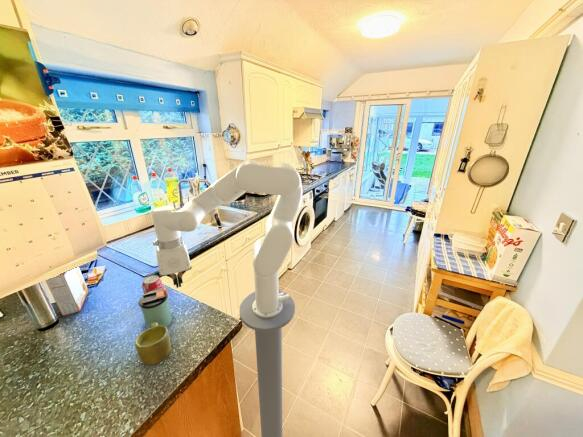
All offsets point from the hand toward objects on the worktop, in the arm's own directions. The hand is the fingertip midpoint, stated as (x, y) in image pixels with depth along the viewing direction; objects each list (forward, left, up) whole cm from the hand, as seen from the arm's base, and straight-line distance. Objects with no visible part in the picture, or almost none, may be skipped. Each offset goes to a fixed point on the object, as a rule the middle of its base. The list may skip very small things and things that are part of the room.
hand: (178, 285), depth 88 cm
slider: (+6, 0, -2) cm, 6 cm away
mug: (+10, +13, -15) cm, 22 cm away
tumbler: (+9, 0, -14) cm, 17 cm away
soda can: (+10, -13, -15) cm, 22 cm away
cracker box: (+40, -28, -15) cm, 51 cm away
